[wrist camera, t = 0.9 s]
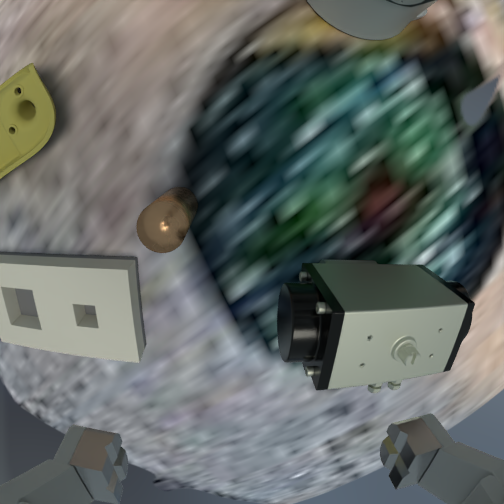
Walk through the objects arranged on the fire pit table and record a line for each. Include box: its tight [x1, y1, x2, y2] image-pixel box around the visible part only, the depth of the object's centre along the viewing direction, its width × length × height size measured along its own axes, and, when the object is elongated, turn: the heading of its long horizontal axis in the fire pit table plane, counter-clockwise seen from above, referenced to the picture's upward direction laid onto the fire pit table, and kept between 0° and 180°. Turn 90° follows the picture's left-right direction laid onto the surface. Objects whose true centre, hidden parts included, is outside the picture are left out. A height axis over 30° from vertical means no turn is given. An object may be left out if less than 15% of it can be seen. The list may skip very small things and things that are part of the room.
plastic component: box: [0, 63, 56, 179], centre depth 27 cm, size 20×7×10 cm
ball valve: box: [277, 260, 475, 393], centre depth 29 cm, size 18×8×18 cm, turn 87°
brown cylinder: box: [137, 187, 198, 253], centre depth 29 cm, size 4×4×10 cm
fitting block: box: [0, 252, 146, 363], centre depth 34 cm, size 22×12×4 cm, turn 87°
